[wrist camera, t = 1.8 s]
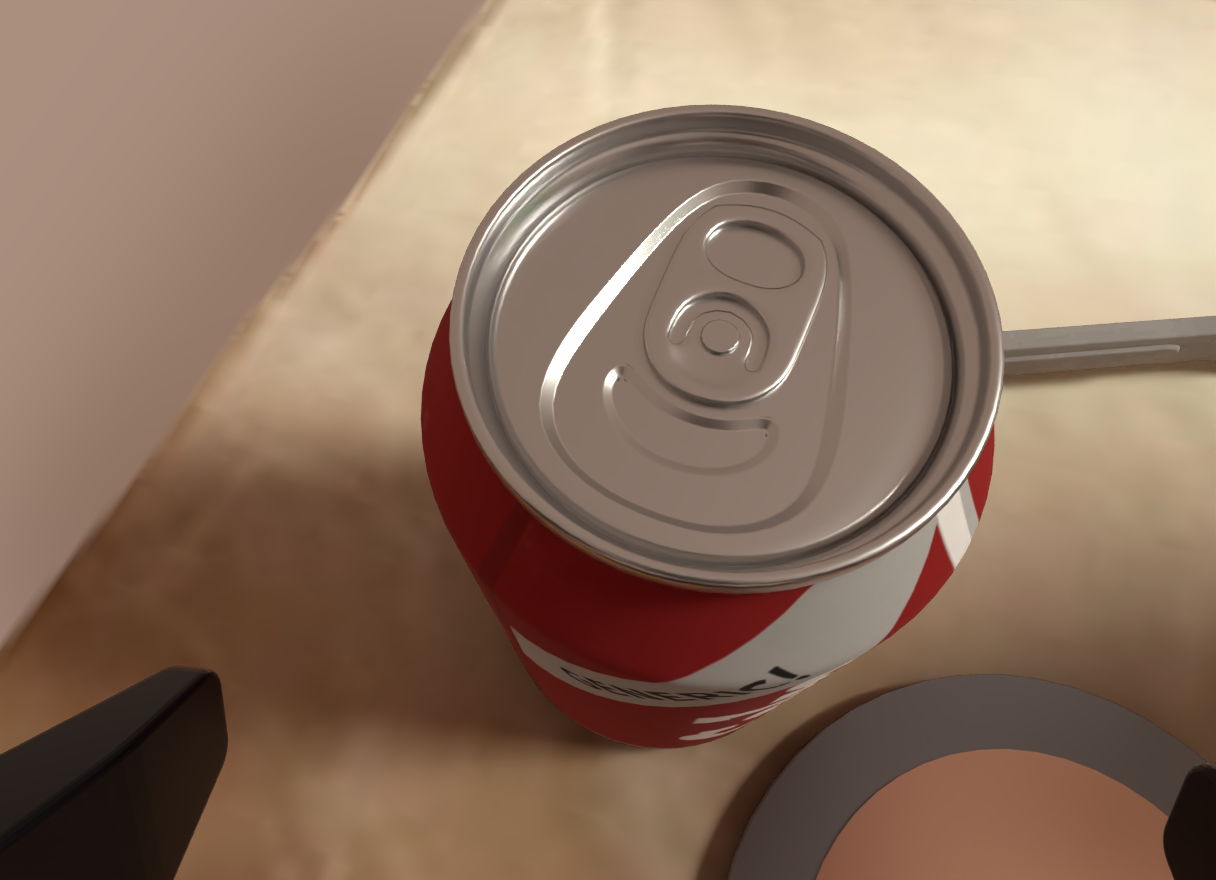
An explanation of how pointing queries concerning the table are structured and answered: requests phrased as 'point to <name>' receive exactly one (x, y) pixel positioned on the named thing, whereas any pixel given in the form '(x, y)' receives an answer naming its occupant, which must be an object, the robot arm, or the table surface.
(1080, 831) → the coaster
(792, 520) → the soda can
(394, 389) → the table surface
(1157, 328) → the combination wrench
